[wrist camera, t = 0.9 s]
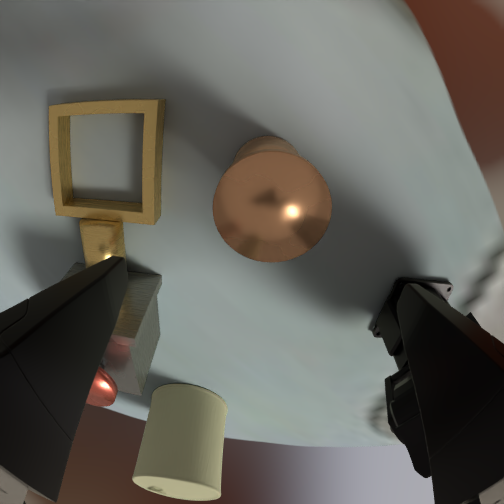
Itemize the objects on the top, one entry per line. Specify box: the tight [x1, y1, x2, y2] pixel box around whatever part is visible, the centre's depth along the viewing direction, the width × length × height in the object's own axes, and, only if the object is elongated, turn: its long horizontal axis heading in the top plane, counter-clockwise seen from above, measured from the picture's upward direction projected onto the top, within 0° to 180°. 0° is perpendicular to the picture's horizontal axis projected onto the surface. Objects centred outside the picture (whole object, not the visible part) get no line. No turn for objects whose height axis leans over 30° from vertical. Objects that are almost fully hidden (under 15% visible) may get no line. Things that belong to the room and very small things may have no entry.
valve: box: [61, 218, 162, 406], centre depth 20 cm, size 8×12×9 cm
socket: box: [49, 99, 166, 225], centre depth 18 cm, size 8×8×2 cm
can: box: [132, 384, 228, 501], centre depth 28 cm, size 9×9×12 cm
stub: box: [213, 136, 332, 262], centre depth 16 cm, size 5×5×7 cm
